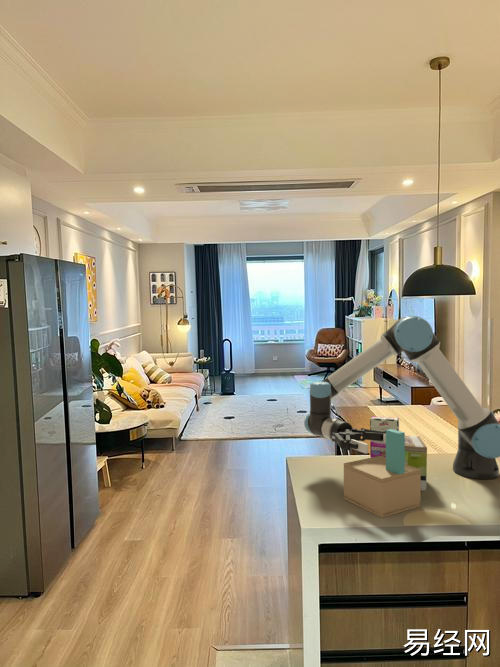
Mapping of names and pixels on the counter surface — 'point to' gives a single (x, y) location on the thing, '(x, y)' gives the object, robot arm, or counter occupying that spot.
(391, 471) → the carton lid
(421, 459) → the tea box
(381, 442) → the candy bar box
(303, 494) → the counter surface
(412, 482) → the carton
